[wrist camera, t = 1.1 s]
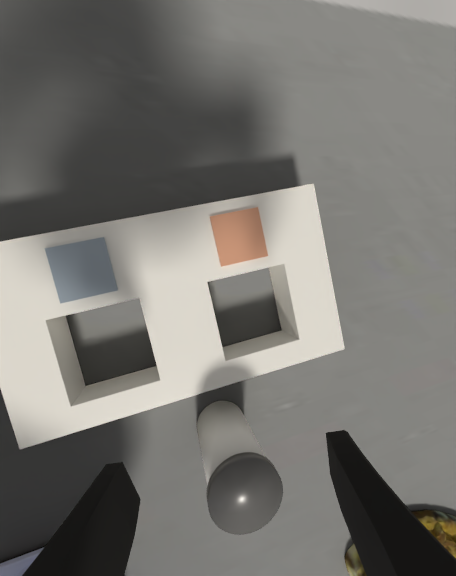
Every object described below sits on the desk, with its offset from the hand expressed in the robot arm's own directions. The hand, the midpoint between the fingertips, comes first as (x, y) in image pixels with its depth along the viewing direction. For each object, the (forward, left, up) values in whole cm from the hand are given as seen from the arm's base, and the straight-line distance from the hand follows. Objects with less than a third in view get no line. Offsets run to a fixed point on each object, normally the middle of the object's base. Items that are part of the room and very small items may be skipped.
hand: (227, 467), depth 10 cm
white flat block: (+5, 0, -11) cm, 12 cm away
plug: (-5, -1, -11) cm, 12 cm away
